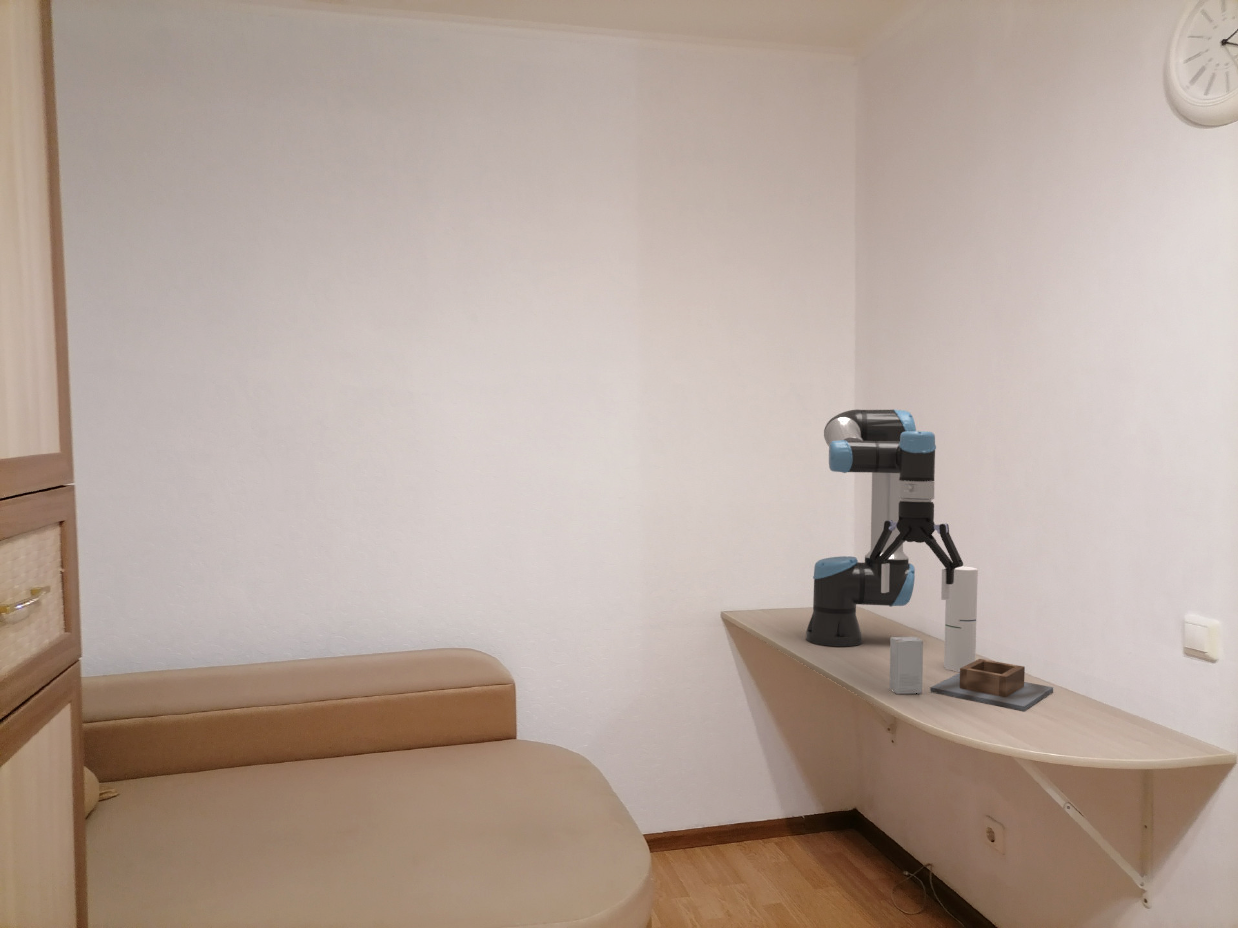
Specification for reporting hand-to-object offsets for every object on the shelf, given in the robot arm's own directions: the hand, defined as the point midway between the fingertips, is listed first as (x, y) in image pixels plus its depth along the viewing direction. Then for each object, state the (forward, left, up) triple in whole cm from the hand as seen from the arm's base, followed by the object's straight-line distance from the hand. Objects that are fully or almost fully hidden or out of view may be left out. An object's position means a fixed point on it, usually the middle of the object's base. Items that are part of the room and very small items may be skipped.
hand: (914, 595), depth 196 cm
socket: (+13, +13, -22) cm, 28 cm away
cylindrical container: (0, +28, -22) cm, 35 cm away
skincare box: (-1, -1, -22) cm, 22 cm away
